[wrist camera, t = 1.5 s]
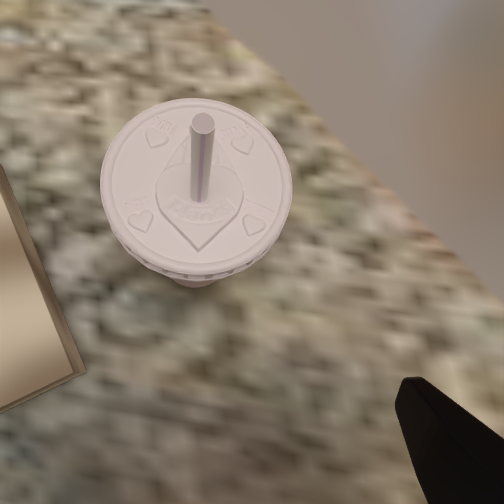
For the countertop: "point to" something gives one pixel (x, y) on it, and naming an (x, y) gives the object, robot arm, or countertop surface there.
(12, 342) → the plinth
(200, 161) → the smoothie
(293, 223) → the countertop surface
